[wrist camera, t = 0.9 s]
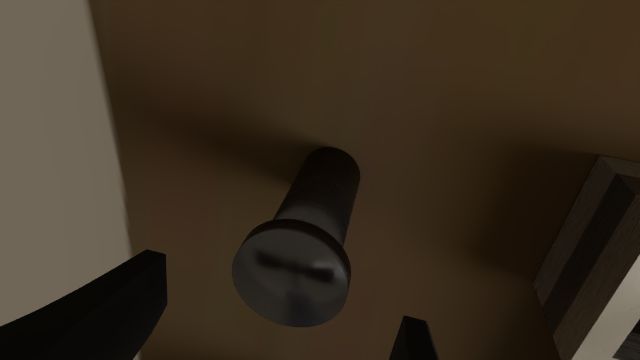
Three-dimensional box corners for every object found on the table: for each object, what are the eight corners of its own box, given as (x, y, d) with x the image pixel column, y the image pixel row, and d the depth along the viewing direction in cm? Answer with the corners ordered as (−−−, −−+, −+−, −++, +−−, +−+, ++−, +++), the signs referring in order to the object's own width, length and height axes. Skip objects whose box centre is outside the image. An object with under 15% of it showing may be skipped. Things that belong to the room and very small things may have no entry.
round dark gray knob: (385, 191, 20) (369, 309, 14) (318, 219, 22) (273, 338, 15) (345, 123, 19) (306, 215, 12) (277, 158, 21) (209, 256, 14)
